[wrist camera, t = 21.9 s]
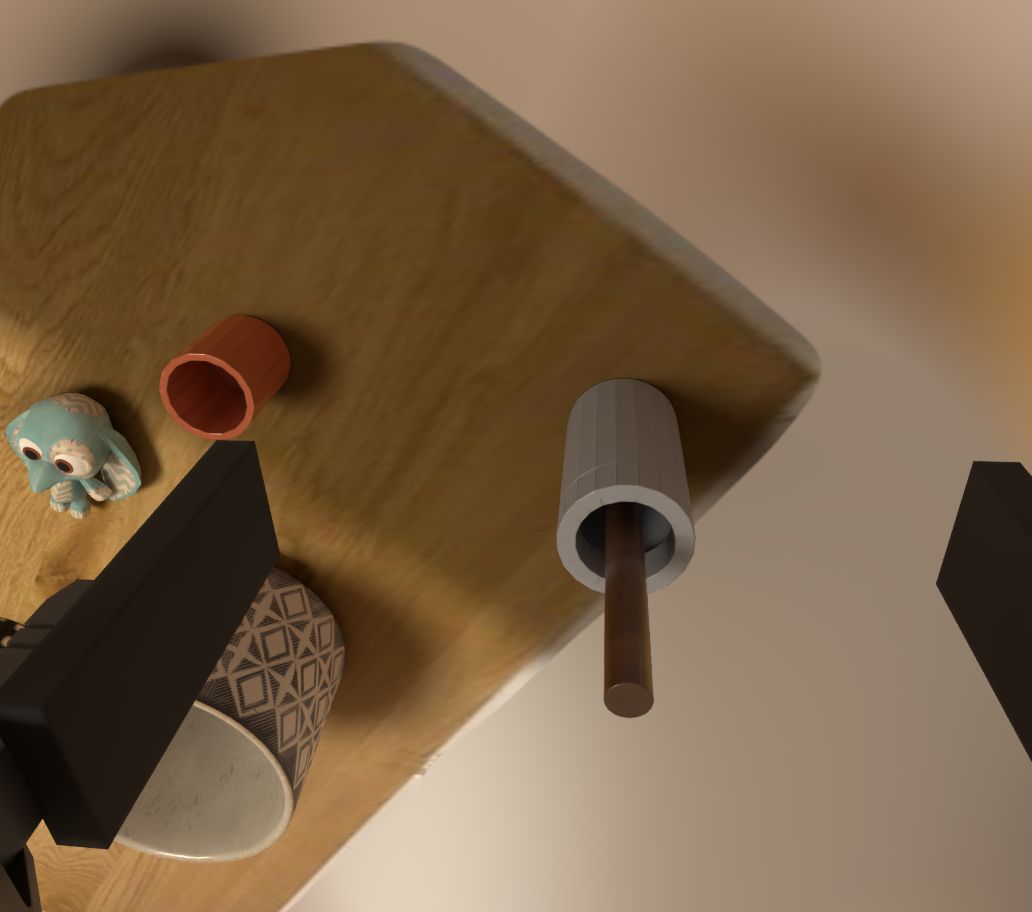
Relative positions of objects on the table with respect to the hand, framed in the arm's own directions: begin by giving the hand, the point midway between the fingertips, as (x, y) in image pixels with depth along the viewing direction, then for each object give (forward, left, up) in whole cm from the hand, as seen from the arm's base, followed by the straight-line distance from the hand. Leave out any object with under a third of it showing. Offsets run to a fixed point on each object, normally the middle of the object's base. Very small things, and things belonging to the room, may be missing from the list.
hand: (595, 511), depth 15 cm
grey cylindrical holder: (-2, +19, -38) cm, 43 cm away
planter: (+30, +40, -39) cm, 63 cm away
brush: (-2, +19, -38) cm, 42 cm away
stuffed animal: (+40, +22, -39) cm, 60 cm away
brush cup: (+25, +14, -38) cm, 48 cm away
